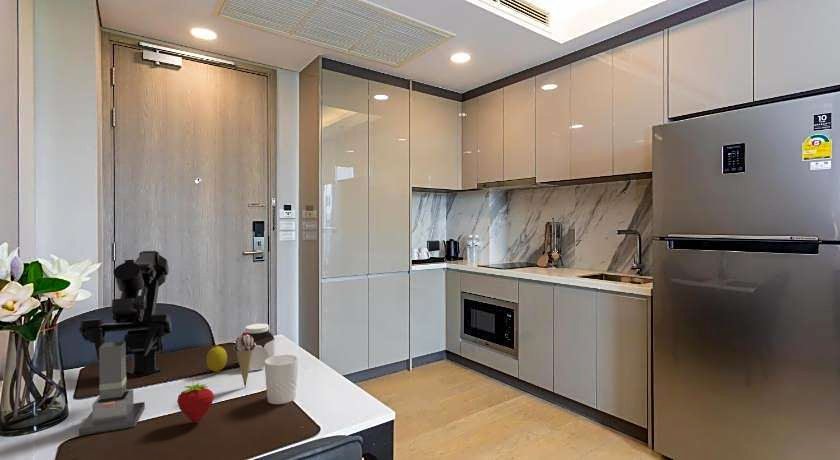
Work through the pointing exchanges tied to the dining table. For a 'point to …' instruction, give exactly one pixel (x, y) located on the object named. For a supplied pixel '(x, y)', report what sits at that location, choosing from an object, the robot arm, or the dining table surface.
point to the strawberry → (195, 401)
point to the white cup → (281, 378)
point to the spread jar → (261, 345)
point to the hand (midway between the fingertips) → (122, 357)
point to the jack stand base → (112, 414)
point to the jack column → (112, 369)
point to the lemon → (216, 359)
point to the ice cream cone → (244, 353)
